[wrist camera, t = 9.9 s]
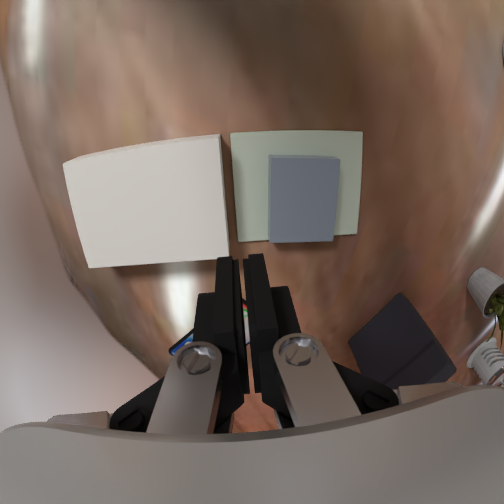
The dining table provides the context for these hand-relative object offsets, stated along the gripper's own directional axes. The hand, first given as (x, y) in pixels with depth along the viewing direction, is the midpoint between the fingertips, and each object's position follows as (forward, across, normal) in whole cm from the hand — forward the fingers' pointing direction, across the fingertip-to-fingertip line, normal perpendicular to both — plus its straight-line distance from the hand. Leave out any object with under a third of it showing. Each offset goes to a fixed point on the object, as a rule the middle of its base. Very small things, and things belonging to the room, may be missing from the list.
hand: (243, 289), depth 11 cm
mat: (+21, -7, +2) cm, 23 cm away
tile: (+19, -7, +4) cm, 20 cm away
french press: (+21, -54, +42) cm, 72 cm away
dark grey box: (+21, -20, +24) cm, 37 cm away
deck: (+21, +9, +2) cm, 23 cm away
